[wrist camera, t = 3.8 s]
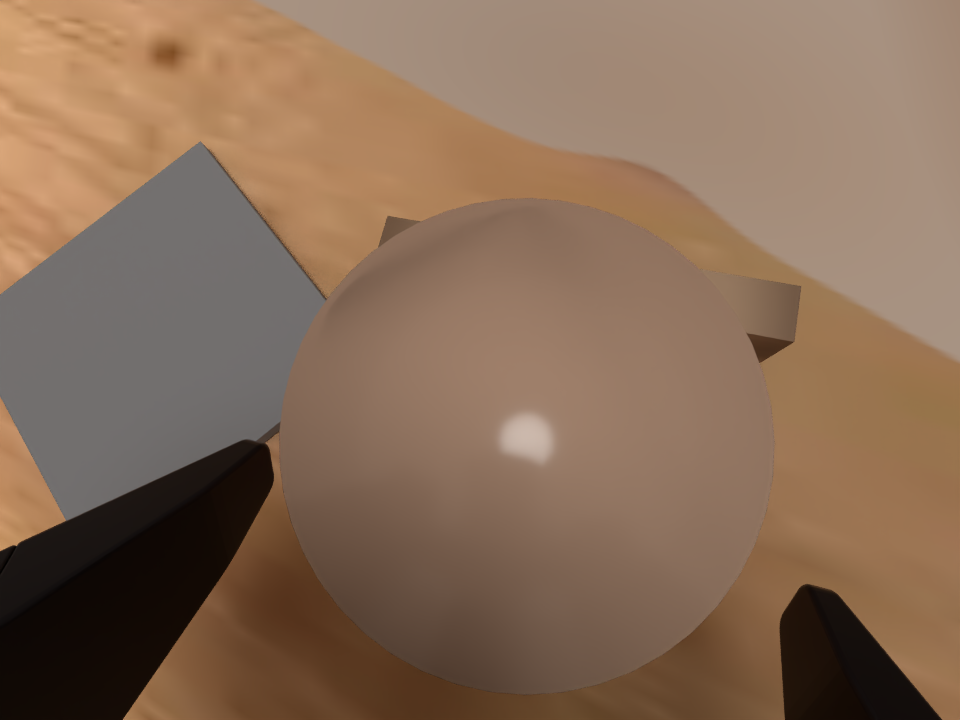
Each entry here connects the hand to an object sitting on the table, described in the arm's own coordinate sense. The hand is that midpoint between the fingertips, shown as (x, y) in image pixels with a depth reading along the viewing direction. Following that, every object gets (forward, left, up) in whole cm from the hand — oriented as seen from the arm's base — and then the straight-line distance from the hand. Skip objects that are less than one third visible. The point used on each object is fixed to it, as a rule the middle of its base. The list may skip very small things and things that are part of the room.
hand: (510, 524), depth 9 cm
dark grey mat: (+14, +7, -9) cm, 18 cm away
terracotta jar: (+1, -1, -9) cm, 9 cm away
